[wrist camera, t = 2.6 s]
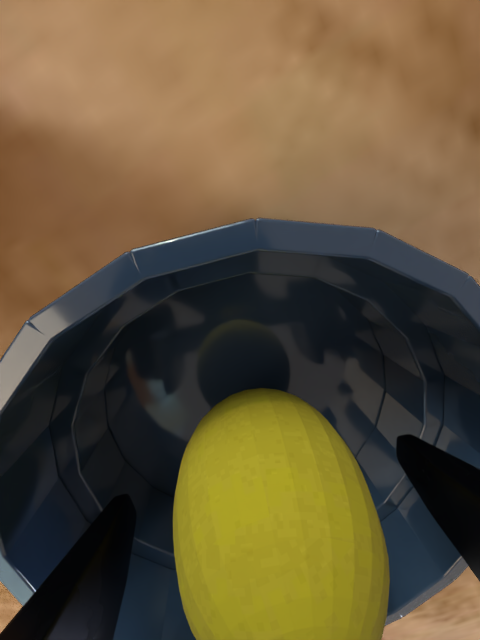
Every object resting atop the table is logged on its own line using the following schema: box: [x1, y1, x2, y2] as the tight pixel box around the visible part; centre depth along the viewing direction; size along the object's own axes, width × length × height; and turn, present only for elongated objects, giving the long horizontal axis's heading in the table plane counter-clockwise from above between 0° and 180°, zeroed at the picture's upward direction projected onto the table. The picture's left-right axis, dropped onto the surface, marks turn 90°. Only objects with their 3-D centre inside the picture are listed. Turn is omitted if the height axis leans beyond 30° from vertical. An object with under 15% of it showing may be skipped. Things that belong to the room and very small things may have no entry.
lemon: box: [173, 388, 390, 640], centre depth 8 cm, size 6×6×8 cm
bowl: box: [0, 218, 480, 640], centre depth 9 cm, size 15×15×5 cm
